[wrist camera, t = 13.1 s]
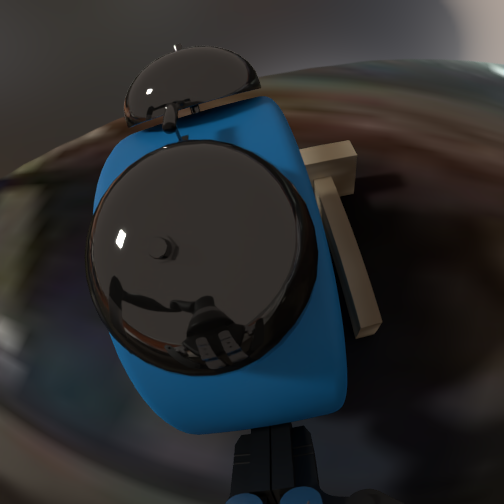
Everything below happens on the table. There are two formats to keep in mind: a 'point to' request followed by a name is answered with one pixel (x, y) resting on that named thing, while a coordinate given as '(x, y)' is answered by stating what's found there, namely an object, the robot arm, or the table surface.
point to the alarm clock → (215, 255)
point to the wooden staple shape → (342, 229)
